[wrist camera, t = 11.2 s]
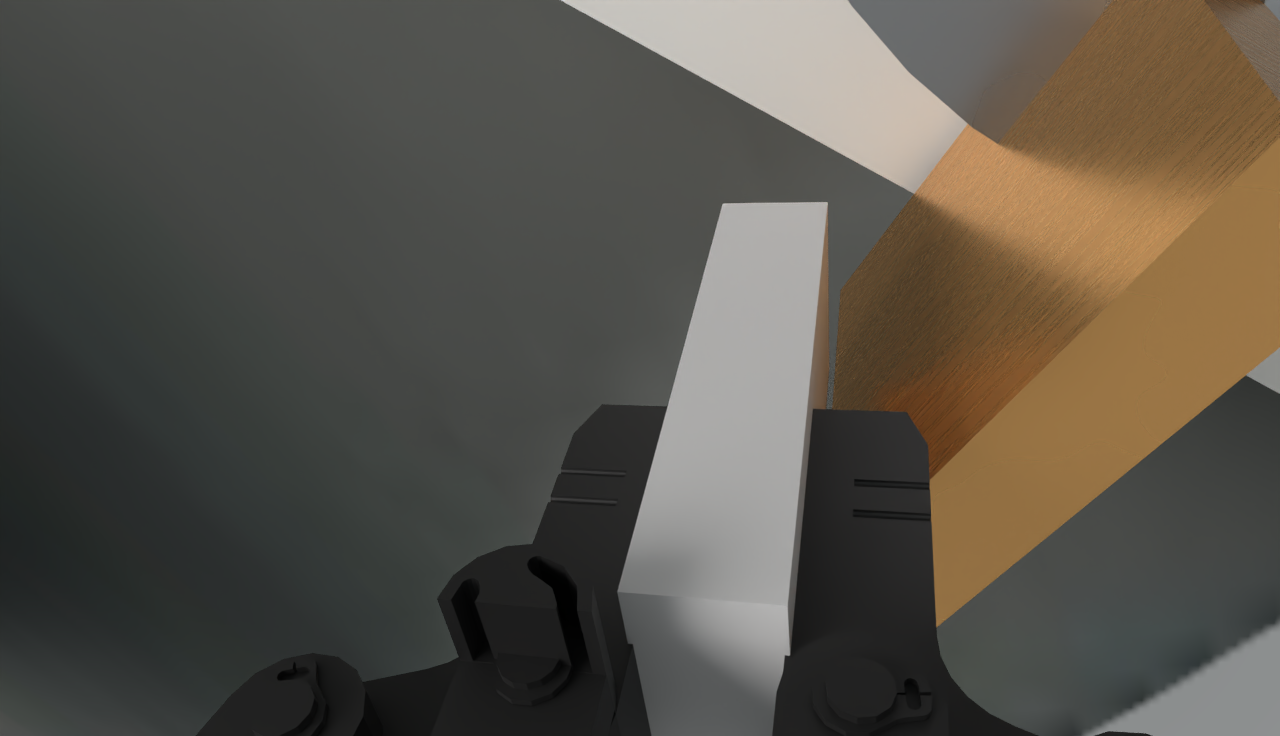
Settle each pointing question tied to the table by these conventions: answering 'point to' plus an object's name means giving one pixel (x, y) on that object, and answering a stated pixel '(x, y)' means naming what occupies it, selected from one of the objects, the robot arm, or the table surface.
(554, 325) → the table surface
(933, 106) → the turntable base
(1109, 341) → the turntable
